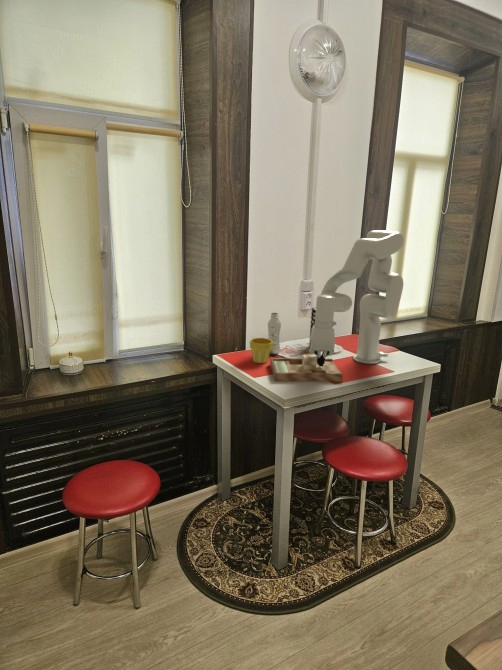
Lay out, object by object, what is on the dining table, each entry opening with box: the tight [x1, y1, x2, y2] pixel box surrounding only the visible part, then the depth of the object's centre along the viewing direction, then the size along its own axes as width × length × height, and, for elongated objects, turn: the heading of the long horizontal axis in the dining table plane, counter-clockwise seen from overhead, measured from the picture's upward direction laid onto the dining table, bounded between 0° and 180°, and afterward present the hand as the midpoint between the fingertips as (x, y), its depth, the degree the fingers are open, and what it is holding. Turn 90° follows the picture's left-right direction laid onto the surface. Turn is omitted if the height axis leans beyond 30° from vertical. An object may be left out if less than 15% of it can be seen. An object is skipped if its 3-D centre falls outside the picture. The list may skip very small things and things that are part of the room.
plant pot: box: [249, 337, 273, 364], centre depth 201 cm, size 10×10×10 cm
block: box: [302, 354, 317, 370], centre depth 188 cm, size 5×5×5 cm
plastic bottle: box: [267, 312, 282, 355], centre depth 211 cm, size 6×7×20 cm
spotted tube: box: [308, 307, 316, 345], centre depth 223 cm, size 8×8×20 cm
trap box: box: [269, 357, 344, 382], centre depth 189 cm, size 28×19×3 cm
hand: (320, 365), depth 189 cm, fingers closed
